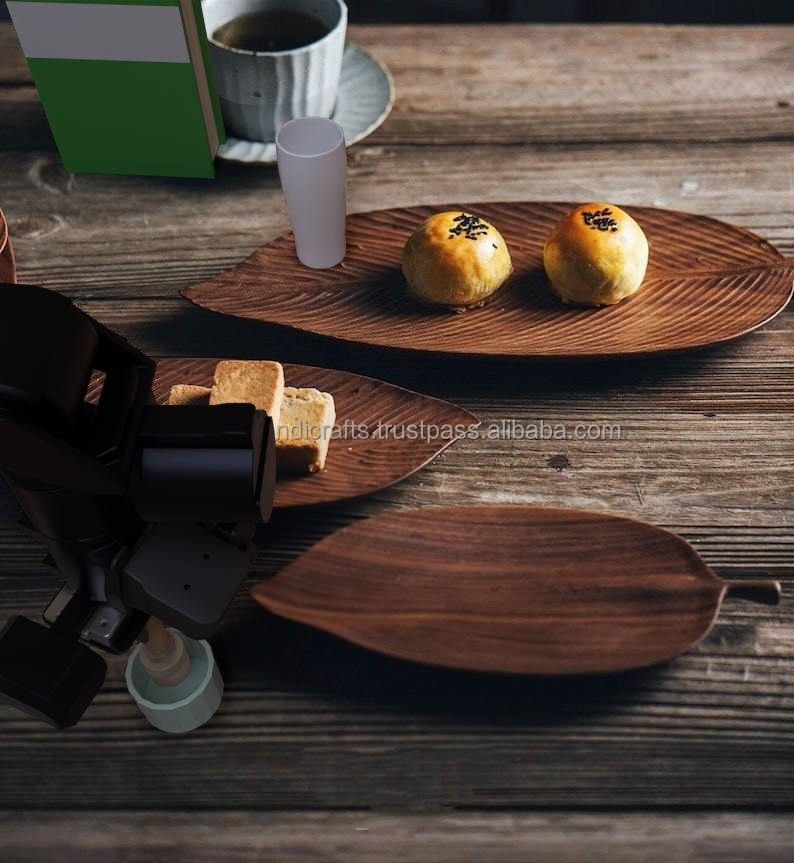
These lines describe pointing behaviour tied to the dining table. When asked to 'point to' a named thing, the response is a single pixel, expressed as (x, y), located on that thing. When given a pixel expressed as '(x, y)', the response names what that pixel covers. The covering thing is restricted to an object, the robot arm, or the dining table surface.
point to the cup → (178, 689)
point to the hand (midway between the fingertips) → (149, 627)
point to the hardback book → (124, 84)
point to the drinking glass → (314, 187)
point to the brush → (164, 655)
